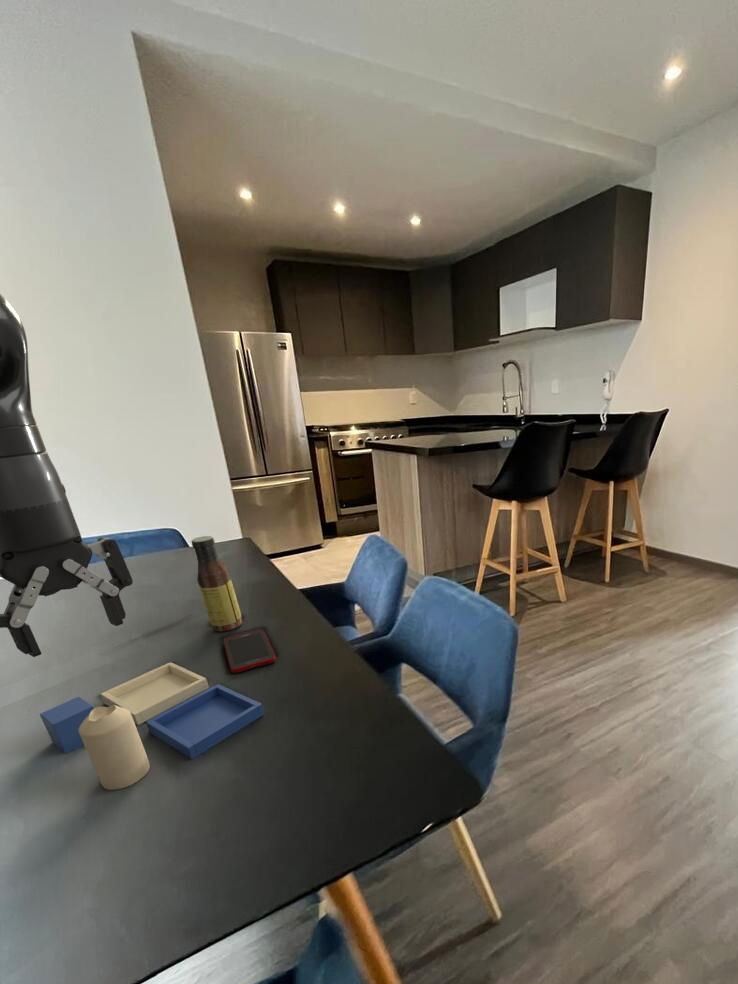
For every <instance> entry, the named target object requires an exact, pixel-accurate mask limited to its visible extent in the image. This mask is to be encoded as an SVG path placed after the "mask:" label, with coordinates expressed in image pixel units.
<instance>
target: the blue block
mask: <svg viewBox="0 0 738 984" xmlns="http://www.w3.org/2000/svg"><path fill="white" fill-rule="evenodd" d="M94 708H95V707H94V705H92V704H91V703H89V702H88V701H86V700H85V699H83V698H82V697H81V696H77V697H75V698H72V699H70V700H68V701H65V702H63V703H61V704H59V705H56V706H54V707H52V708H50V709H47V710H45V711H42V712H41V713H39V716H40V719H41V720H42V723H43V725H44V727H45V729H46V732H47V734H48V736H49V738H50V740H51V742H52V743H53V744H54V745H55V746H56V747H58V748H59V749H60V750H61V751H62V752H63V753H65V754H68V753H70V752H72V751H74V750H76V749H78V748H80V747H82V746H85V745H84V743H83V741H82V738H81V736H80V734H79V732H78V729H79V727H80V725H81V724H82V722H83V721H84V720H85V719H86V717H87V716H88V715H89V714H90V712H91V711H92V710H93V709H94Z"/></svg>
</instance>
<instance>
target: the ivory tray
mask: <svg viewBox="0 0 738 984" xmlns="http://www.w3.org/2000/svg"><path fill="white" fill-rule="evenodd" d="M209 688H210V686H209V683H208V680H207V678H206V677H205V676H202V675H200V674H197V673H195V672H193V671H191V670H188V669H187V668H185V667H182V666H180V665H178V664H175V663H173V662H167V663H166V664H163V665H161V666H159V667H156V668H154V669H151V670H150V671H147V672H145V673H143V674H140V675H139V676H136V677H134V678H132V679H130V680H127V681H126V682H123V683H121V684H118V685H116V686H115V687H112V688H110V689H107V690H106V691H103V692H101V693H100V696H101V699H102V702H103V704H104V705H105V706H106V707H110V706H112V705H116V706H118V707H121V708H125V709H128V710H129V711H130V713H131V715H132V718H133V721H134V723H135V725H137V726H140V725H142V724H143V723H146V721H148V720H150V719H152V718H154V717H156V716H158V715H160V714H162V713H164V712H165V711H167V710H169V709H171V708H173V707H175V706H177V705H179V704H181V703H183V702H184V701H186V700H188V699H190V698H192V697H194V696H196V695H198V694H200V693H202V692H204V691H205V690H207V689H209Z"/></svg>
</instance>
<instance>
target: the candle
mask: <svg viewBox="0 0 738 984" xmlns="http://www.w3.org/2000/svg"><path fill="white" fill-rule="evenodd" d="M78 732H79V734H80V736H81V738H82V741H83V743H84V745H83V746H84V748H85V751H86V753H87V755H88V757H89V759H90V762H91V763H92V766H93V769H94V771H95V773H96V775H97V777H98V781H99V782H100V784H101V786H102V787H103V788H104V789H105V790H108V791H109V790H110V791H116V790H117V791H118V790H121V789H124V788H125V789H126V788H128V787H130V786H132V785H135V784H136V783H138V782H139V781H141V780H142V779H143V778H144V777H145V776H146V775H147V774H148V773H149V771H150V768H151V764H150V760H149V758H148V755H147V753H146V749H145V747H144V744H143V742H142V739H141V737H140V734H139V731H138V729H137V726H136V723H134V721H133V718H132V715H131V713H130V711H129V710H128V709H125V708H121V707H118V706H116V705H112V706H110V707H109V706H96V707H94V709H93V710H92V711H91V712H90V714H89V715H88V716H87V717H86V719H85V720H84V721H83V722H82V724H81V725H80V727H79V729H78Z"/></svg>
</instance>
